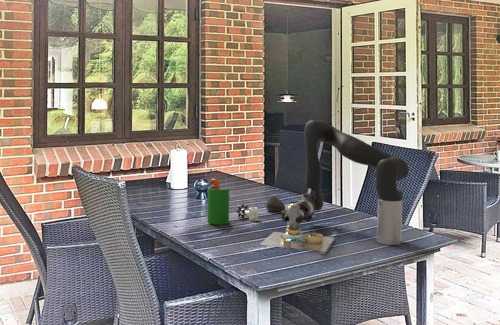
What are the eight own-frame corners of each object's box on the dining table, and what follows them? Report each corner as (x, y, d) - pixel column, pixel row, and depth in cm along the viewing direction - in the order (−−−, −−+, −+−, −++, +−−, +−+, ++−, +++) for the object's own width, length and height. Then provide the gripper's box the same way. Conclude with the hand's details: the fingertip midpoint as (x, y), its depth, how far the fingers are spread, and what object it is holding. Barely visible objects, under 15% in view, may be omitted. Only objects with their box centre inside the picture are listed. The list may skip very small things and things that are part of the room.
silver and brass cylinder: (302, 232, 209) (302, 203, 207) (298, 236, 204) (299, 206, 202) (288, 230, 211) (288, 202, 209) (284, 234, 205) (284, 205, 204)
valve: (261, 222, 239) (248, 217, 249) (261, 208, 238) (248, 203, 248) (249, 224, 235) (236, 218, 246) (249, 209, 234) (236, 204, 245)
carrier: (334, 240, 210) (334, 229, 210) (324, 254, 192) (324, 242, 192) (273, 234, 218) (273, 224, 218) (259, 247, 201) (259, 236, 200)
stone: (279, 215, 267) (265, 201, 268) (290, 205, 263) (276, 190, 264) (272, 223, 259) (258, 208, 260) (283, 212, 254) (269, 197, 255)
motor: (233, 221, 240) (232, 178, 237) (221, 226, 232) (221, 180, 229) (214, 218, 245) (214, 176, 242) (203, 222, 238) (202, 178, 235)
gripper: (285, 200, 221) (274, 209, 205) (319, 202, 217) (310, 212, 201) (285, 217, 223) (273, 228, 207) (319, 220, 218) (309, 231, 202)
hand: (291, 220), depth 204 cm, fingers closed on silver and brass cylinder, 4 cm apart
